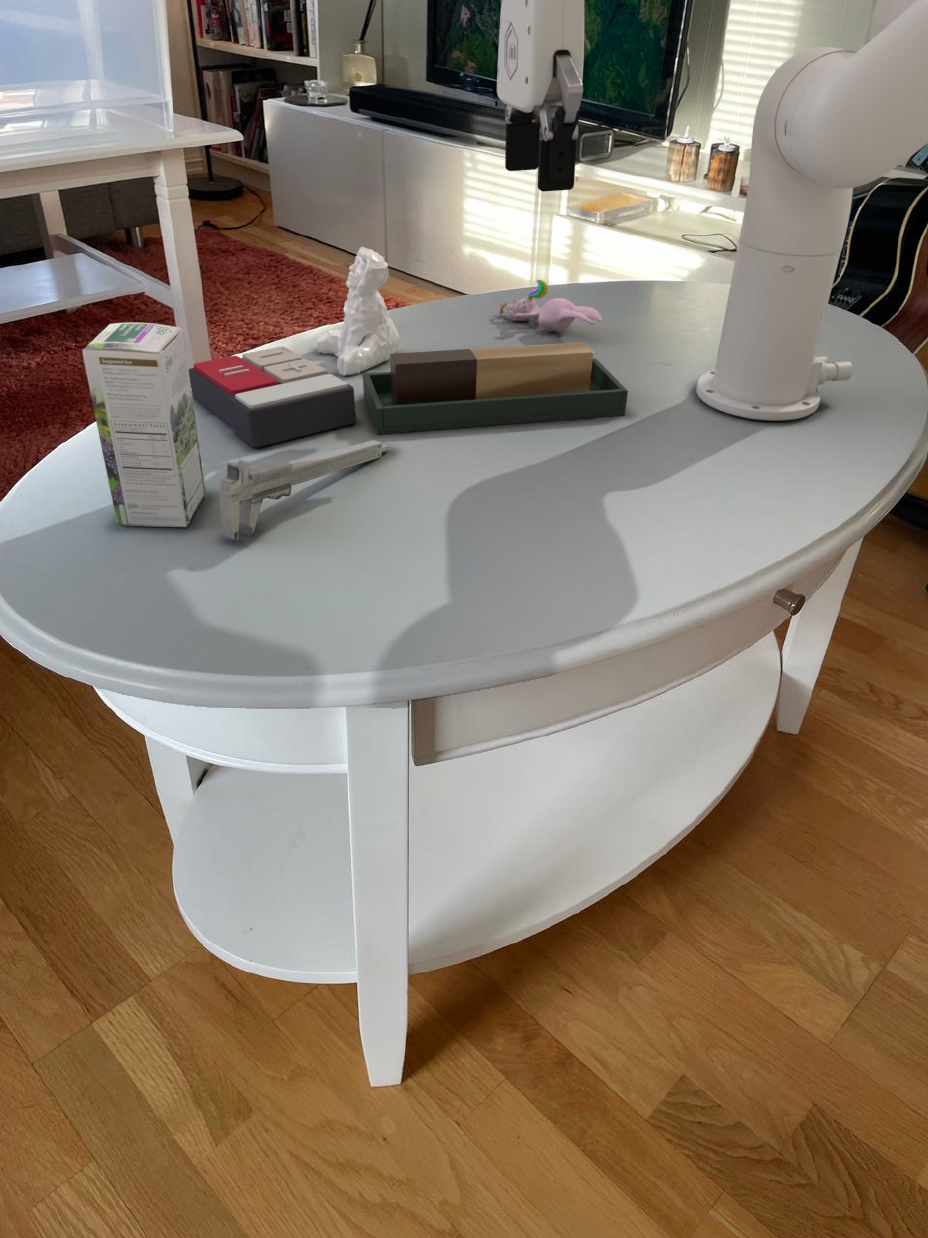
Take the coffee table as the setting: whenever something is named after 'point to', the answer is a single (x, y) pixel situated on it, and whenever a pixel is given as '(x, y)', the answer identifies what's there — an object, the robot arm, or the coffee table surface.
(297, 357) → the calculator
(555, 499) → the coffee table surface
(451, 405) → the tray
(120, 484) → the syrup box
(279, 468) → the caliper
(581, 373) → the two-tone wooden beam
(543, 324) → the rabbit figure
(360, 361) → the sitting furry creature
